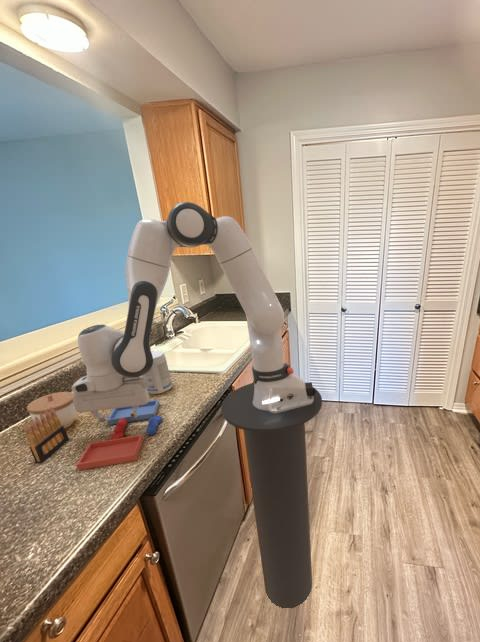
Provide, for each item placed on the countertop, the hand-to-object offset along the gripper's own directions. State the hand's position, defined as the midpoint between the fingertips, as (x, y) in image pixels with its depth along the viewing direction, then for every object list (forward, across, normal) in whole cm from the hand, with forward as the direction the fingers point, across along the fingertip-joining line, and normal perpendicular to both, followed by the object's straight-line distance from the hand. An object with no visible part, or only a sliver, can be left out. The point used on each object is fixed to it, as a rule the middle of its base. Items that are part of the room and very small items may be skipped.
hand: (118, 419), depth 102 cm
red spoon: (+3, 0, +3) cm, 4 cm away
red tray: (+3, -1, +14) cm, 14 cm away
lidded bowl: (+4, +21, -8) cm, 22 cm away
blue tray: (+3, -2, -8) cm, 9 cm away
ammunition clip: (+4, +17, +7) cm, 18 cm away
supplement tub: (+3, -7, -26) cm, 27 cm away
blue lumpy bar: (+3, -10, +2) cm, 11 cm away
